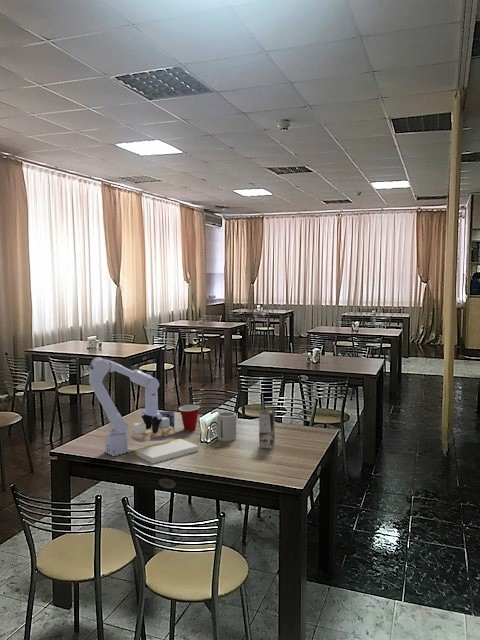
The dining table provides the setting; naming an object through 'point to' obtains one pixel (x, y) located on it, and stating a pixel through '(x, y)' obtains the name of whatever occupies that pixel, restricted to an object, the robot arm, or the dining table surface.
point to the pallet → (151, 434)
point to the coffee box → (266, 428)
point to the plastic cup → (189, 416)
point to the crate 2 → (164, 422)
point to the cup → (226, 426)
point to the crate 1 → (139, 428)
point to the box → (169, 415)
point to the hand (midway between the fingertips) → (151, 431)
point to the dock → (166, 450)
